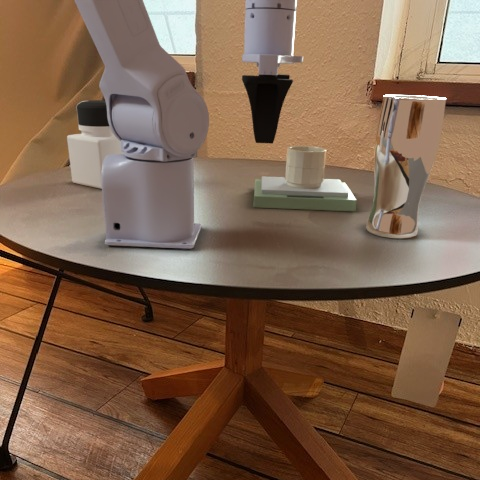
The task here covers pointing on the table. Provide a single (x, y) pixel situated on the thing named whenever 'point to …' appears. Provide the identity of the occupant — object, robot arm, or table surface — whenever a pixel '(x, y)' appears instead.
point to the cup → (305, 166)
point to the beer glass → (403, 161)
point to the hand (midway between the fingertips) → (264, 138)
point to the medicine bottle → (91, 143)
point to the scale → (303, 195)
